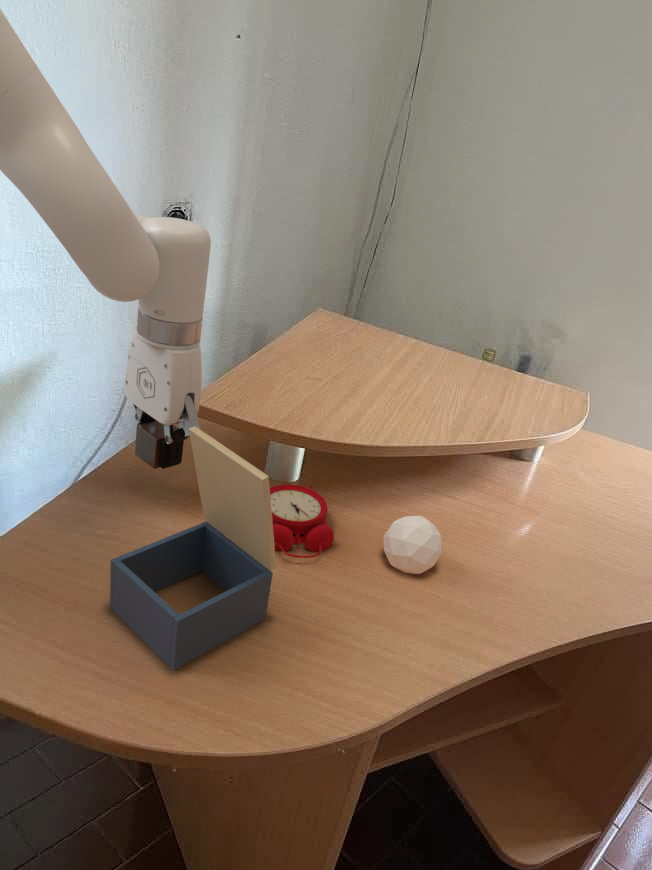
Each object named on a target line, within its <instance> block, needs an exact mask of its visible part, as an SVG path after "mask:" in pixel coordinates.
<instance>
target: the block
mask: <svg viewBox="0 0 652 870" xmlns="http://www.w3.org/2000/svg"><path fill="white" fill-rule="evenodd" d="M177 429H179V428H178V426H176V425H175V424H173V432H174V431H175V430H177ZM163 440H165V437H164V425H163V424H161V423H160V422H158V421H153V422H149V423H144V424H140V425H137V424H136V431H135V443H134V444H135V445H134V455H135V456H136V457H137V458H139V459H140V460H142V461H143V462H144V463H146V464H147V465H148V466H150V467H151V468H152V469H154V470H156V469H159V468H161V467H159V460H160V449H161V441H163ZM183 454H184V453H182V455H183Z"/></svg>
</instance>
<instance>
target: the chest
mask: <svg viewBox="0 0 652 870" xmlns="http://www.w3.org/2000/svg"><path fill="white" fill-rule="evenodd" d="M200 572H201V573H203V574H204V575H205V576H206V577H207V578H208V579H210V580H211V581H212V582H213V583H214V584H215V585H217V586H218V587H219V588H220V589H222V590H223V592H222V593H220V594H218V595H215V596H213V597H211V598H210V599H207V600H206V601H204V602H202V603H200V604H198V605H196V606H194V607H192V608H190V609H188V610H186V611H184V612H182V613H179V612H178V611H176V609H174V608H173V607H172V606H171V605H170V604H169V603H168V602H166V601H165V599H163V598H162V597H161V596H160V595H159V594H157V592H159V591H161V590H163V589H165V588H167V587H169V586H172V585H174V584H176V583H178V582H180V581H182V580H185V579H186V578H189V577H191V576H193V575H195V574H198V573H200ZM109 574H110V578H109V579H110V580H109V581H110V582H109V589H110V590H109V609H110V610H111V612H113V613H114V614H115V615H116V616H117V617H118V618H119V619H120V620H122V622H123V623H125V625H126V626H128V628H129V629H131V631H133V632H134V634H135V635H137V637H139V638H140V639H141V641H142V642H144V643H145V644H146V645H147V646H148V647H149V648H150V649H151V650H152V651H153V652H154V653H155V654H156V655H157V656H158V657H159V658H160V659H161V660H162V661H164V663H165V664H167V666H169V667H170V669H171V670H172V671H176V670H178V669H180V668H181V667H183V666H185V665H186V664H188V663H190V662H191V661H193V660H196V659H197V658H199V657H200V656H202V655H204V654H206V653H208V652H209V651H212V650H213V649H215V648H216V647H218V646H220V645H222V644H223V643H225V642H228V641H229V640H230V639H232V638H234V637H235V636H237V635H239V634H241V633H243V632H244V631H247V630H248V629H250V628H252V627H253V626H255V625H257V624H258V623H260V622H262V621H263V620H265V619H266V618H267V617H266V616H267V611H268V605H269V599H270V593H271V587H272V582H273V581H272V580H273V575H274V573H273V571H270V570H269V569H268V568H266V567H265V566H264V565H262V564H261V563H260V562H259V561H257V560H256V559H255V558H253V557H252V556H251V555H250V554H248V553H247V552H246V551H244V550H243V549H242V548H241V547H239V546H238V545H237V544H235V543H234V542H233V541H231V540H230V539H229V538H228V537H226V536H225V535H224V534H222V533H221V532H220V531H219V530H217V529H216V528H215V527H213V526H212V525H211V524H210V523H208V522H207V521H206V520H205V521H203V522H201V523H198V524H196V525H193V526H191V527H189V528H186V529H183V530H181V531H179V532H176V533H174V534H171V535H169V536H167V537H163V538H162V539H159V540H156V541H154V542H151V543H149V544H145V545H143V546H141V547H139V548H137V549H134V550H131V551H129V552H126V553H123V554H121V555H118V556H117V557H114V558H111V559H110V573H109Z"/></svg>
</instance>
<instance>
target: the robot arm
mask: <svg viewBox="0 0 652 870" xmlns="http://www.w3.org/2000/svg"><path fill="white" fill-rule="evenodd" d="M0 172H1V173H2V174H3V175H4V176H5V177H6V178H7V179H8V180H9V182H11V183H12V184H13V185H14V186H15V187H16V189H17V190H19V192H20V193H21V194H22V195H23V196H24V197H25V199H26V200H27V201H28V203H29V204H31V206H32V208H33V209H34V210H35V211H36V213H37V214H38V215H39V216H40V218H41V219H42V221H44V223H45V225H46V226H47V227H48V228H49V230H50V231H51V232H52V234H54V236H55V237H56V239H57V241H59V242H60V244H61V245H62V246H63V248H64V249H65V250H66V252H67V253H68V255H69V257H70V258H71V260H72V261H73V262H74V263H75V265H76V266H77V268H78V269H79V271H80V272H82V273H83V275H84V276H85V277H86V279H87V280H88V282H89V283H90V285H91V286H92V287H93V288H94V289H95V290H96V291H97V292H98V293H99V294H101V295H102V296H103V297H106V298H107V299H110V300H113V301H116V302H122V303H127V302H130V303H131V302H135V301H138V305H137V307H138V308H137V320H136V326H135V327H134V329H133V332H132V336H131V340H130V343H129V347H128V352H127V360H126V365H125V367H126V368H125V376H124V395H125V398H126V399H127V400H128V401H129V402H131V404H133V407H134V409H135V413H134V419H135V421H136V422H137V424H136V426H137V425H140V424H144V423H149V422H153V421H158V422H160V423H161V424H163V425H164V437H165V440H163V441H161V449H160V460H159V467H160V468H161V470H164V469H168V468H172V467H174V466H177V465H180V464H182V461H183V454H184V453H183V452H184V442H185V441H186V440H188V439H189V438H190V434H189V428H191V427H193V426H196V427H197V428H198V429H200V430H201V431H202V427H201V423H200V421H199V417H198V414H199V411H200V405H201V396H202V395H201V394H202V374H203V373H202V372H203V370H202V366H203V365H202V364H203V363H202V350H201V346H200V344H201V337H202V329H203V328H202V327H203V319H204V309H205V302H206V301H205V300H206V292H207V283H208V282H207V281H208V274H209V273H208V272H209V265H210V257H211V245H212V244H211V243H212V241H211V236H210V233H209V232H208V230H207V229H206V228H205V227H204V226H202V225H200V224H199V223H196V222H194V221H190V220H187V219H183V218H178V217H170V216H157V217H150V216H146V215H141V214H136V213H134V212H133V210H132V209H131V207H130V206H129V204H128V201H126V199H125V198H124V196H123V194H122V193H121V192H120V190H119V189H118V187H117V185H116V184H115V183H114V181H113V180H112V178H111V177H110V175H109V173H108V172H107V171H106V169H105V168H104V167H103V165H102V163H101V162H100V160H99V159H98V157H97V156H96V155H95V153H94V152H93V150H92V149H91V147H90V145H89V144H88V143H87V141H86V140H85V138H84V136H83V134H82V133H81V131H80V129H79V128H78V126H77V124H76V123H75V121H74V120H73V118H72V117H71V115H70V114H69V112H68V111H67V110H66V108H65V106H64V105H63V104H62V102H61V101H60V99H59V97H58V96H57V94H56V92H55V91H54V89H53V88H52V87H51V85H50V83H49V82H48V80H47V79H46V78H45V76H44V74H43V73H42V71H41V70H40V68H39V67H38V65H37V63H36V62H35V61H34V59H33V57H32V56H31V54H30V53H29V51H28V50H27V48H26V47H25V45H24V43H23V42H22V40H21V39H20V37H19V35H18V34H17V32H16V31H15V29H14V28H13V26H12V24H11V23H10V22H9V20H8V19H7V17H6V15H5V14H4V12H3V10H2V9H1V8H0ZM176 424H177V425H178V426H177V428H178V429H177V430H175V431H174V432H173V425H176ZM182 453H183V454H182Z"/></svg>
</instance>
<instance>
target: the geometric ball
mask: <svg viewBox="0 0 652 870" xmlns="http://www.w3.org/2000/svg"><path fill="white" fill-rule="evenodd" d="M442 542H443V541H442V535H441V533H440V531H439V530H438V528H437V527H436V525H435V524H434V523H433V522H431V521H430V520H428V519H427V518H426V517H424V516H423V515H405V516H403V517H400V518H398V519H396V520H394V521H393V522H392V523H391V525H390V526H389V527H388V529H387V530H386V532H385V533H384V535H383V551H384V554H385V556H386V558H387V561H388V562H389V565H390V566H392V567H393V568H395V569H396V570H398V571H400V572H402V573H405V574H411V575H421V574H422V573H424V572H426V571H428V570H430V569H431V568H433V567H434V566H435V564H436V563H437V562H438V560H439V559H440V557H442V554H443V543H442Z"/></svg>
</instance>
